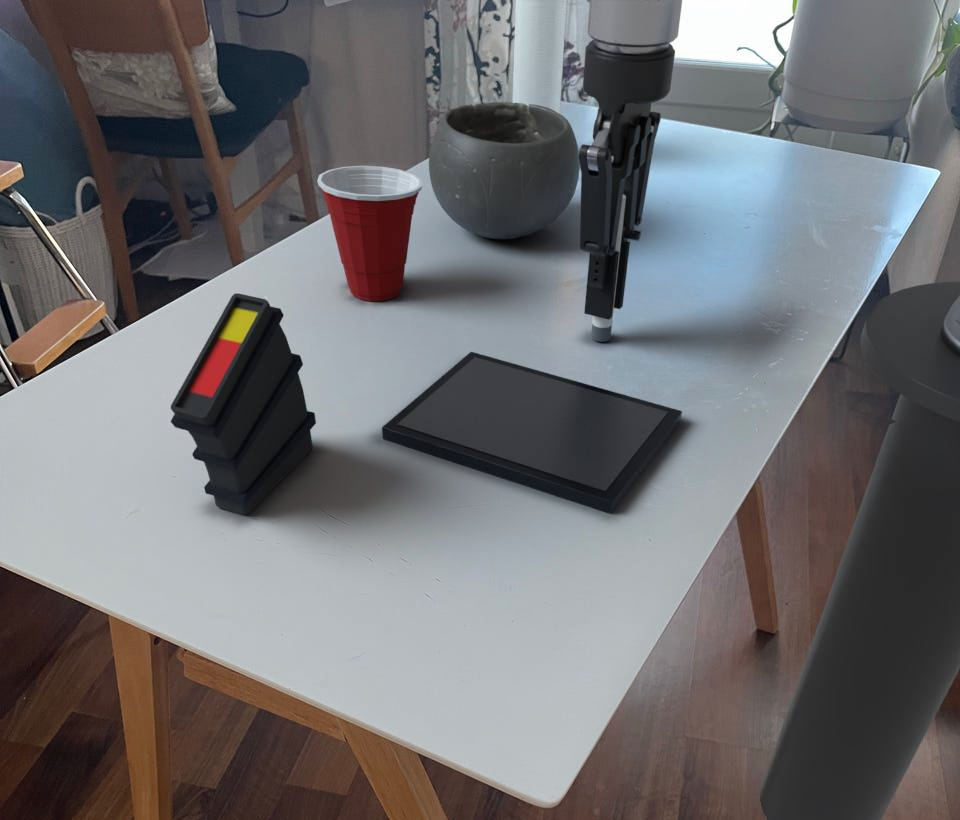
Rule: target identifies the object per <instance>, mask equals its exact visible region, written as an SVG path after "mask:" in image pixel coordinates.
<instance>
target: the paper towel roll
mask: <svg viewBox="0 0 960 820" xmlns="http://www.w3.org/2000/svg"><path fill="white" fill-rule="evenodd" d="M567 4H568V0H515V10H514V11H515V14H514V45H513V46H514V47H513V49H514V50H513V75H512V76H513V77H512V78H513V79H512V103H523V104H526V105H527V106H528V107H529V104H534V105H539V106H543V107H547V108H550V109H552V110H554V111H556V112H557V113H559V114H561V100H562V84H563V83H562V82H563V70H564V69H563V68H564V56H565V55H564V53H565V38H566V22H567V21H566V20H567V6H568V5H567Z"/></svg>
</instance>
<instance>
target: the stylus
mask: <svg viewBox="0 0 960 820" xmlns="http://www.w3.org/2000/svg"><path fill="white" fill-rule="evenodd" d="M625 201H626V196H625V195H623V199H622V206H621V213H620V220H619V227H618V234H617V241H616V249H615V251H618V252H619V256H620V247H621V238H622V229H623V220H624V210H625ZM618 265H619V259H618ZM617 274H618V268H617ZM616 283H617V277H616ZM615 292H616V286H615ZM614 301H615V295H614ZM614 310H615V308H614V304H613V313H612V317H611V318H610V319H609V320H608V319H604V318H600V317H596V316H592V324H591V332H590V337H591V339H592V340H593V341H596V342H600V343H601V342H602V343H603V342H608V341H610V339H611V336H612V328H613V319H614V312H615V311H614Z"/></svg>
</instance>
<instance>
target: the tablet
mask: <svg viewBox="0 0 960 820" xmlns="http://www.w3.org/2000/svg"><path fill="white" fill-rule="evenodd" d="M682 415H683V411H682V410H679V409H676V408H672V407H669V406H665V405H662V404H659V403H654V402H651V401H649V400H644V399H641V398H636V397H633V396H631V395H627V394H623V393H619V392H617V391H613V390H609V389H605V388H601V387H598V386H595V385H592V384H587V383H584V382H581V381H577V380H573V379H570V378H566V377H564V376H563V377H562V376H559V375H556V374H552V373H548V372H545V371H541V370H538V369H535V368H531V367H527V366H524V365H520V364H517V363H513V362H510V361H506V360H503V359H499V358H496V357H492V356H488V355H485V354H480V353H477V352H475V351H470V352H468V354H466V355H465V356H464V357H463V358H461V359H460V360H459V361H458V362H457V363H456V364H455V365H453V366H452V367H450V369H449V370H447V371H446V372H445V373H444V374H442V376H441V377H439V378H438V379H437V380H436V381H435V382H433V383H432V384H431V385H430V386H429V387H427V388H426V389H425V390H424V391H423V392H422V393H420V394H419V395H418V396H417V397H416V398H414V400H412V401H411V402H410V403H408V404H407V405H406V406H405V407H404V408H403V409H401V411H399V412H398V413H397V414H395V416H393V417H392V418H391V419H389V421H388V422H386V423H385V424H384V425H382V427H381V433H382V435H381V436H382V439H383V440H386V441H389V442H391V443H395V444H398V445H401V446H404V447H408V448H410V449H414V450H416V451H419V452H422V453H425V454H429V455H431V456H434V457H438V458H441V459H443V460H446V461H450V462H453V463H454V464H458V465H462V466H465V467H467V468H470V469H474V470H476V471H480V472H483V473H486V474H489V475H492V476H495V477H498V478H500V479H505V480H508V481H511V482H513V483H516V484H520V485H522V486H526V487H528V488H532V489H534V490H537V491H541V492H544V493H546V494H550V495H553V496H556V497H559V498H562V499H565V500H568V501H571V502H574V503H577V504H580V505H584V506H586V507H589V508H592V509H596V510H598V511H602V512H604V513H607V514H611V513H612V512H613V511H614V510H615V508H616V507H617V506H618V504H619V502H621V501H622V499H623V497H624V496H625V495H626V493H627V492H628V491H630V490H629V489H631V488H632V486H633V484H634V483H635V482H636V480H637V479H638V478H639V477H640V475H641V474H642V472H643V471H644V470H645V469H646V467H647V466H648V465H649V463H650V462H651V461H652V460H653V458H654V457H655V456H656V454H657V453H658V452H659V450H660V449H661V448H662V447H663V445H665V443H666V441H667V440H668V439H669V437H670V436H671V435H672V433H673V432H674V430H675V429H676V428H677V427H678V425H679V424H680V423H681V419H682Z"/></svg>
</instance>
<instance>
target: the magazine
mask: <svg viewBox="0 0 960 820" xmlns="http://www.w3.org/2000/svg"><path fill="white" fill-rule="evenodd" d="M283 318H284V313H283V311H282V309H281V308H279V307H276V306H271V305H270V302H269V300H267V299H266V298H261V297H256V296H252V295H247V294H243V293H238V292H237V293H233V295H231V297H230V299H229V301H228V302H227V304H226V306H225V308H224V309H223V311H222V313H221V315H220V316H219V318H218V321H217V322H216V324H215V326H214V328H213V329H212V331H211V333H210V335H209V336H208V338H207V340H206V342H205V344H204V345H203V347H202V348H201V351H200V352H199V354H198V356H197V357H196V359H195V361H194V364H193V365H192V367H191V369H190V371H188V374H187V376H186V377H185V379H184V381H183V383H182V385H181V386H180V389H179V390H178V392H177V394H176V396H175V398H174V399H173V401H172V403H171V404H170V410H171V412H173V416H172V418H171V420H170V423H171V424H172V425H173V427H174V428H175V429H179V430H183V431H187V432H188V434H189V435H190V436H191V438H192V440H193V441H194V443H195V445H196V447H195V448H194V451H193V452H192V457H193V459H194V460H197V461H201V462H203V464H204V466H205V469H206V472H207V475H208V478H209V481H208V482H206V484H205V485H204V486H203V488H204V493H205V494H206V495H210V496H213V499H214V503H215V506H216V507H217V508H219V509H221V510H226V511H229V512H233V513H236V514H240V515H243V516H246V515H247V516H248V515H249V514H250V513H251V512H252V511H253V510H254V509H255V508H256V507H257V506H258V505H259V504H260V503H261V502H262V501H263V500H264V499H265V498H267V496H268V495H269V494H270V493H271V492H272V491H273V490H274V489H275V488H276V487H277V486H278V485H279V484H281V482H282V481H283V480H284V479H285V478H286V477H287V476H288V475H289V474H290V473H291V472H292V471H293V470H294V469H295V468H296V467H297V466H298V465H299V464H300V463H302V461H303V460H305V458H306V457H307V456H308V455H309V454H310V453H311V452H312V451H313V439H312V431H311V430H312V429H313V428H314V426H315V425H316V424H317V420H316V413H315V412H314V411H310V410H308V408H307V401H306V398H305V392H304V388H303V384H302V381H301V378H300V374H299V372H300V370H301V369H302V367H303V366H304V362H303V360H302V357H301V355H300V354H296V353H293V352H292V351H291V350H292V349H291V347H290V344H289V342H288V338H287V335H286V333H285V332H284V329H283V328H282V326H281V324H280V323H281V321H282V320H283Z"/></svg>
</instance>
